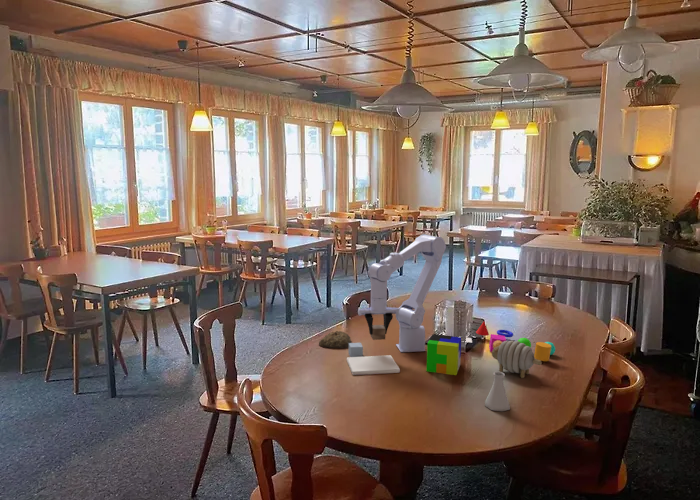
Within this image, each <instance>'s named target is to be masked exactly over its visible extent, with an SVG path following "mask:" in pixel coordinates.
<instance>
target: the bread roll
mask: <svg viewBox="0 0 700 500" xmlns="http://www.w3.org/2000/svg"><path fill="white" fill-rule="evenodd" d="M349 343H353V341H352V340H351V337H350V335H349V334H347V333H346V332H344V331H341V330H339V331H338V330H335V331H332V332H331V331H330V332H329V333H327V334H326V335H325V336H324V337H322V338H321V339H320V340H319V342H318V346H320V347H323V348H332V349H347V348H349Z"/></svg>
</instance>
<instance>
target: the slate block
mask: <svg viewBox="0 0 700 500" xmlns="http://www.w3.org/2000/svg"><path fill="white" fill-rule="evenodd" d="M348 355H349V357H364V346H363V345H362V342H351V343H349V347H348Z"/></svg>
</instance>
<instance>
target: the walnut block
mask: <svg viewBox="0 0 700 500" xmlns="http://www.w3.org/2000/svg"><path fill="white" fill-rule="evenodd" d="M372 329H373V333H372V335H370V337H371V339H372V340H373V341H376V340H381V341H382V340H386V334H385V332H386V329H385V327H384V324H373V325H372Z"/></svg>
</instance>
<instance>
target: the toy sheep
mask: <svg viewBox="0 0 700 500" xmlns="http://www.w3.org/2000/svg"><path fill="white" fill-rule="evenodd" d="M491 356H492V358H493V359H495V360H497V362H498V364H499V367H498V369H499V370H498V372H502V373H504V369H505V370H506V371H507V370H508V372H510V373H511V374H512V373H515V374H520V378H521V379H524V378H525V376H526V375H529V374H530V369H531V368H532V367H533V366H534V365H537V366H541V365H542V363H543V361H540V360H537V359H535V357H534V352H533V350H532V347H531V348H530V347H529V346H526V345H525V344H524V343H520V342H519V341H518V340H515V341H514V340H508V341H507V340H506V341H504V342H502V343H501V345H499V346H497V347H495V348H494V349H493V351H492V352H491Z"/></svg>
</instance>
